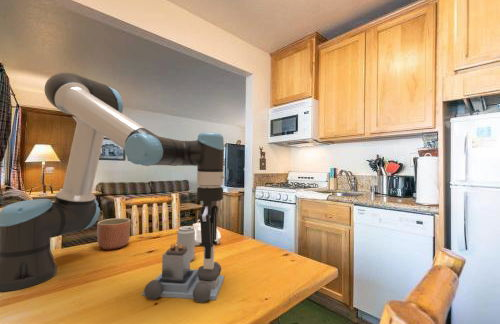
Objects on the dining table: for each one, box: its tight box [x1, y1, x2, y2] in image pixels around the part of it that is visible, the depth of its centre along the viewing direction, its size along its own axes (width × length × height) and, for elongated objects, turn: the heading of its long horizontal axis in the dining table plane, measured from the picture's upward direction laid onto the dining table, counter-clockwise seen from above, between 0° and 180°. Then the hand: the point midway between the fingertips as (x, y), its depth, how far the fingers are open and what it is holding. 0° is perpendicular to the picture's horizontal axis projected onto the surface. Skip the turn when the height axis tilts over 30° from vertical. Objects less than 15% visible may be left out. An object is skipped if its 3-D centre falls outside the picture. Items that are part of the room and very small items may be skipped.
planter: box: [96, 217, 132, 251], centre depth 101 cm, size 12×12×11 cm
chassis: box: [141, 261, 225, 304], centre depth 69 cm, size 20×15×4 cm
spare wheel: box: [197, 265, 220, 280], centre depth 69 cm, size 6×6×4 cm
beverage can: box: [176, 225, 196, 262], centre depth 89 cm, size 6×6×12 cm
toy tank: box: [192, 219, 222, 246], centre depth 110 cm, size 12×20×10 cm, turn 16°
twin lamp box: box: [161, 243, 191, 284], centre depth 69 cm, size 6×6×11 cm
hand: (208, 268), depth 69 cm, fingers closed
